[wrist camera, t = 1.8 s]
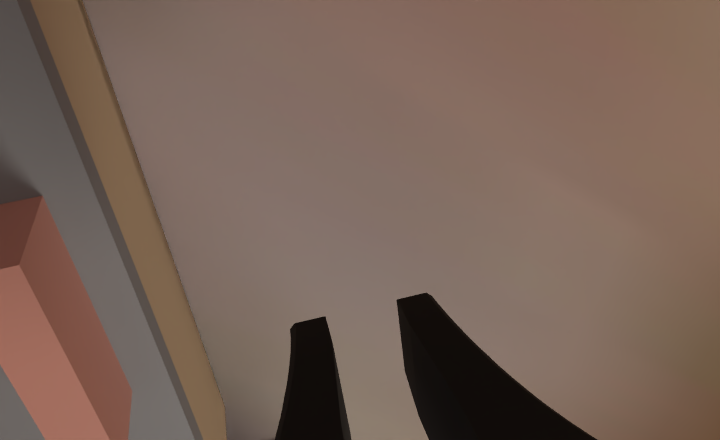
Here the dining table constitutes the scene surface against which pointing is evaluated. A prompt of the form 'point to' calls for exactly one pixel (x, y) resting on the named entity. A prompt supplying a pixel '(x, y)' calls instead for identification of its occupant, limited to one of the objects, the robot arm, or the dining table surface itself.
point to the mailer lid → (69, 274)
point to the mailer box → (131, 201)
